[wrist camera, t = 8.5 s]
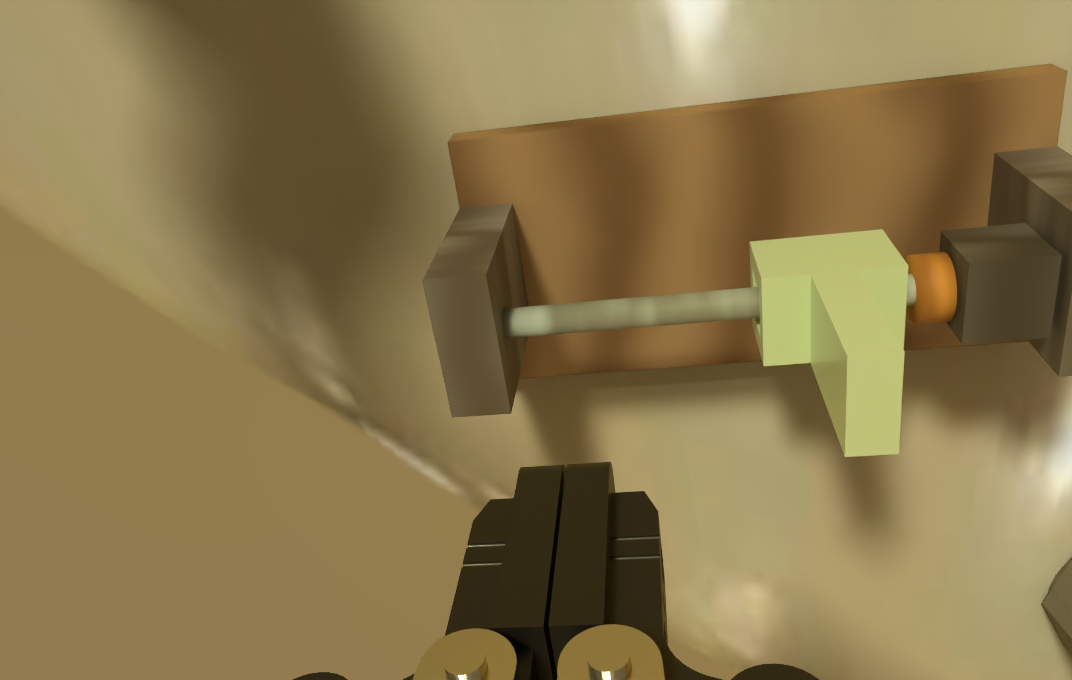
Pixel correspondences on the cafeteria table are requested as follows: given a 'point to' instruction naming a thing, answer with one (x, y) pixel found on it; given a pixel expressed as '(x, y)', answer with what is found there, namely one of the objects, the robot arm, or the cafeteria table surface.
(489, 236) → the lead screw stage
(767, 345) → the pale green tee block
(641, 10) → the cafeteria table surface
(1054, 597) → the coffeepot
